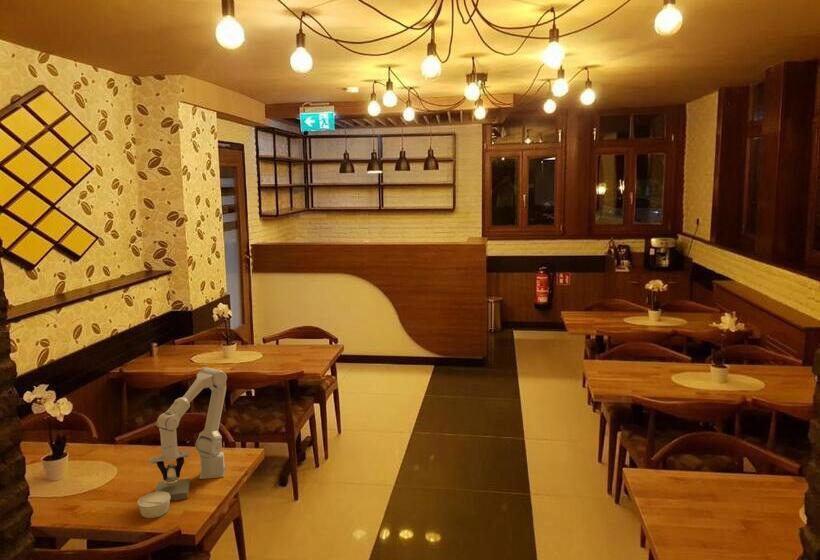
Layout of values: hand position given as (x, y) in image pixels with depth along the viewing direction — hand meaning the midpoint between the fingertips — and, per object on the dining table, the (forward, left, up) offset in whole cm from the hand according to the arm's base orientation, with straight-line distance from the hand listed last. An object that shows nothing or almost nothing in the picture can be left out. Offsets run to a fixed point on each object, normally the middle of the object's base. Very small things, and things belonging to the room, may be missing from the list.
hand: (171, 477), depth 246 cm
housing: (0, 0, -2) cm, 2 cm away
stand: (0, 0, -6) cm, 6 cm away
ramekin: (+4, +13, -7) cm, 15 cm away
